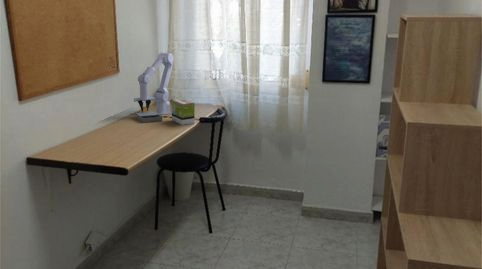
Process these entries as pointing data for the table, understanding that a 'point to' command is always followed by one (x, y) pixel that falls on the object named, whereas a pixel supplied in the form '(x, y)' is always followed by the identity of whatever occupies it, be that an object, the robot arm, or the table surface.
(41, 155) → the table surface
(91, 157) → the table surface
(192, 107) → the tea box
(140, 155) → the table surface
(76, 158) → the table surface
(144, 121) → the carton
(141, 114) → the carton lid
